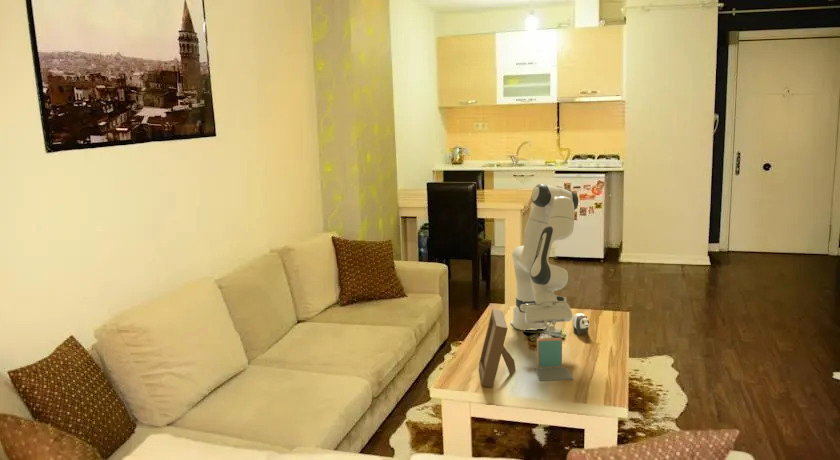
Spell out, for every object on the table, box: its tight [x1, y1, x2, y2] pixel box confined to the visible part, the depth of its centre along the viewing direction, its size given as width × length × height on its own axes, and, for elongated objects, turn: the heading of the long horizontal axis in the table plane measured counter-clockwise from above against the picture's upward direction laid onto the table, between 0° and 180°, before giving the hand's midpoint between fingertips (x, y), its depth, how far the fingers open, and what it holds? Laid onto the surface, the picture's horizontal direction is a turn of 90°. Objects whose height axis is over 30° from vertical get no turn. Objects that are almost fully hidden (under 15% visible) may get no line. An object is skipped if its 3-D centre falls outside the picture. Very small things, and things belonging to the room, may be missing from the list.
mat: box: [534, 366, 574, 382], centre depth 278 cm, size 12×13×1 cm
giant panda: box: [571, 312, 590, 336], centre depth 323 cm, size 15×6×10 cm, turn 4°
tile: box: [536, 337, 563, 368], centre depth 285 cm, size 10×3×12 cm, turn 91°
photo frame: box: [478, 308, 516, 388], centre depth 276 cm, size 15×22×25 cm
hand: (551, 330), depth 294 cm, fingers closed
